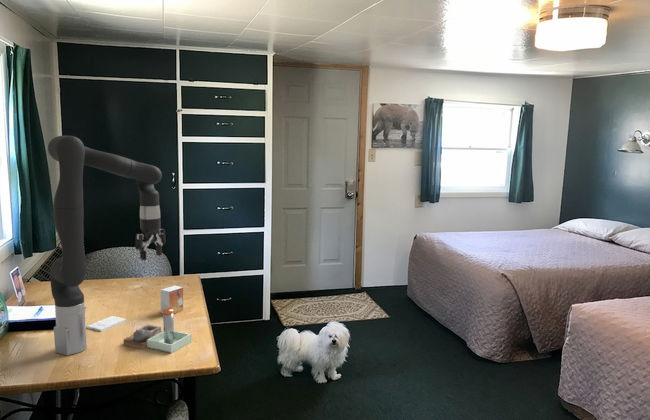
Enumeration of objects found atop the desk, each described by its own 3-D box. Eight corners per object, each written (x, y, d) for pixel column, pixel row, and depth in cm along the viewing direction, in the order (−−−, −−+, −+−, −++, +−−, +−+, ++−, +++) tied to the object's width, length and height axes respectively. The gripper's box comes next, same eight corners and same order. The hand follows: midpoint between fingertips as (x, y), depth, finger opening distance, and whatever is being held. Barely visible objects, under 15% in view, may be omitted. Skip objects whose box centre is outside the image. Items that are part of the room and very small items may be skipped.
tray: (171, 353, 179) (171, 345, 179) (147, 347, 183) (146, 339, 183) (191, 341, 189) (191, 334, 189) (167, 336, 193) (167, 329, 193)
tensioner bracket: (142, 349, 182) (142, 334, 181) (123, 344, 186) (123, 330, 185) (166, 336, 193) (165, 323, 192) (147, 332, 197) (147, 319, 196)
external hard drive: (126, 322, 208) (101, 333, 197) (111, 319, 212) (86, 329, 200) (125, 318, 208) (101, 329, 197) (111, 315, 211) (86, 325, 200)
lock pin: (170, 346, 184) (168, 312, 181) (161, 344, 185) (159, 310, 183) (177, 342, 187) (176, 308, 185) (168, 340, 189) (167, 307, 186)
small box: (169, 315, 215) (168, 291, 214) (160, 313, 218) (159, 289, 217) (183, 310, 222) (183, 287, 221) (175, 307, 225) (174, 284, 223)
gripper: (144, 220, 189) (146, 262, 192) (170, 215, 202) (171, 254, 205) (129, 218, 192) (130, 260, 195) (155, 213, 205) (156, 252, 208)
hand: (151, 257), depth 200 cm, fingers open, 8 cm apart
